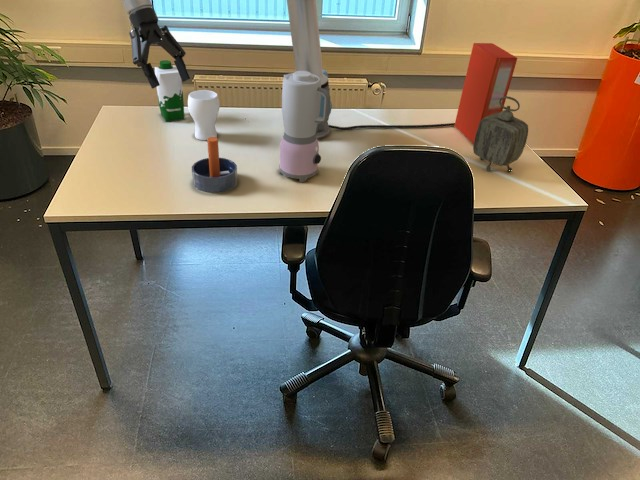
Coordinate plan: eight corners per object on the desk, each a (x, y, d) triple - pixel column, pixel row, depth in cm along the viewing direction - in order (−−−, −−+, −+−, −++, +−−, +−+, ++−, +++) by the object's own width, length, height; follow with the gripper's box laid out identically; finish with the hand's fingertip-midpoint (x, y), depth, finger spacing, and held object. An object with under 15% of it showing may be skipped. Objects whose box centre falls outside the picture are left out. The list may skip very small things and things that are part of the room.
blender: (271, 174, 166) (271, 74, 147) (291, 160, 174) (294, 63, 156) (314, 189, 160) (320, 86, 141) (333, 173, 169) (341, 75, 150)
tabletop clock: (516, 172, 177) (538, 101, 162) (503, 181, 171) (524, 108, 157) (479, 157, 185) (497, 88, 170) (465, 164, 180) (482, 93, 165)
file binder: (472, 125, 208) (493, 43, 189) (493, 144, 194) (517, 57, 176) (454, 126, 206) (472, 43, 188) (473, 145, 193) (495, 57, 174)
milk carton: (181, 111, 203) (175, 59, 191) (187, 120, 196) (182, 66, 185) (158, 114, 199) (151, 61, 188) (163, 123, 193) (157, 68, 181)
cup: (224, 131, 190) (222, 90, 181) (216, 143, 181) (214, 101, 173) (195, 128, 191) (192, 88, 182) (186, 140, 182) (182, 98, 173)
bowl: (242, 175, 164) (241, 159, 161) (230, 196, 153) (230, 180, 150) (201, 171, 165) (199, 155, 162) (187, 191, 154) (185, 175, 151)
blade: (227, 176, 162) (225, 134, 154) (231, 183, 159) (229, 140, 151) (199, 180, 159) (195, 137, 151) (202, 187, 156) (198, 144, 148)
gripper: (161, 15, 163) (189, 81, 168) (99, 18, 143) (133, 94, 148) (178, 5, 159) (206, 73, 164) (116, 7, 139) (150, 85, 144)
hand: (171, 83), depth 156 cm, fingers open, 13 cm apart
